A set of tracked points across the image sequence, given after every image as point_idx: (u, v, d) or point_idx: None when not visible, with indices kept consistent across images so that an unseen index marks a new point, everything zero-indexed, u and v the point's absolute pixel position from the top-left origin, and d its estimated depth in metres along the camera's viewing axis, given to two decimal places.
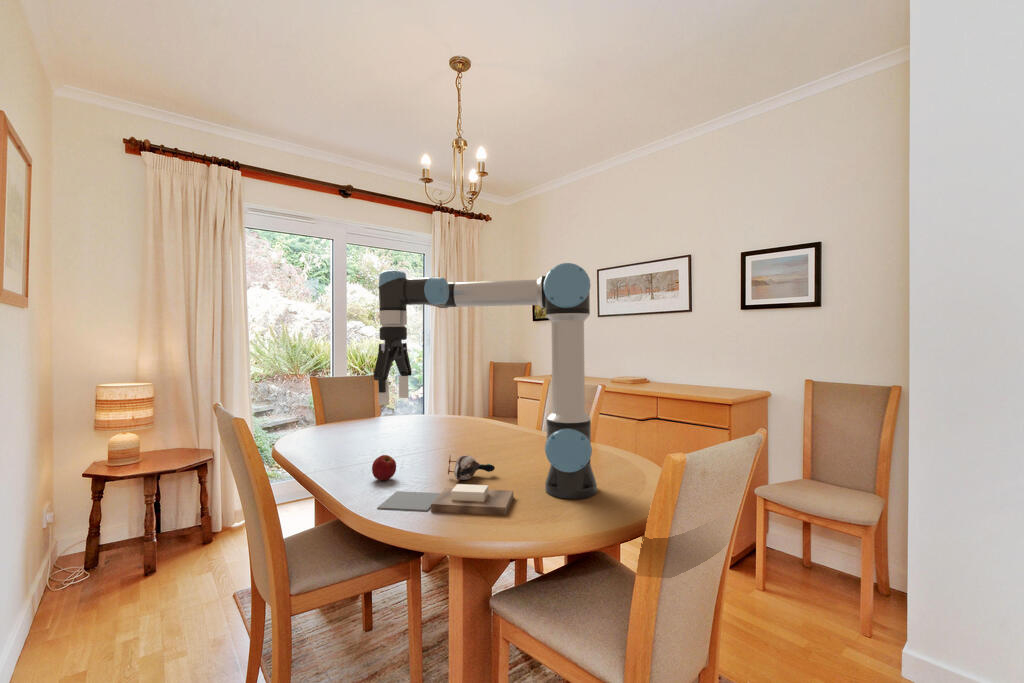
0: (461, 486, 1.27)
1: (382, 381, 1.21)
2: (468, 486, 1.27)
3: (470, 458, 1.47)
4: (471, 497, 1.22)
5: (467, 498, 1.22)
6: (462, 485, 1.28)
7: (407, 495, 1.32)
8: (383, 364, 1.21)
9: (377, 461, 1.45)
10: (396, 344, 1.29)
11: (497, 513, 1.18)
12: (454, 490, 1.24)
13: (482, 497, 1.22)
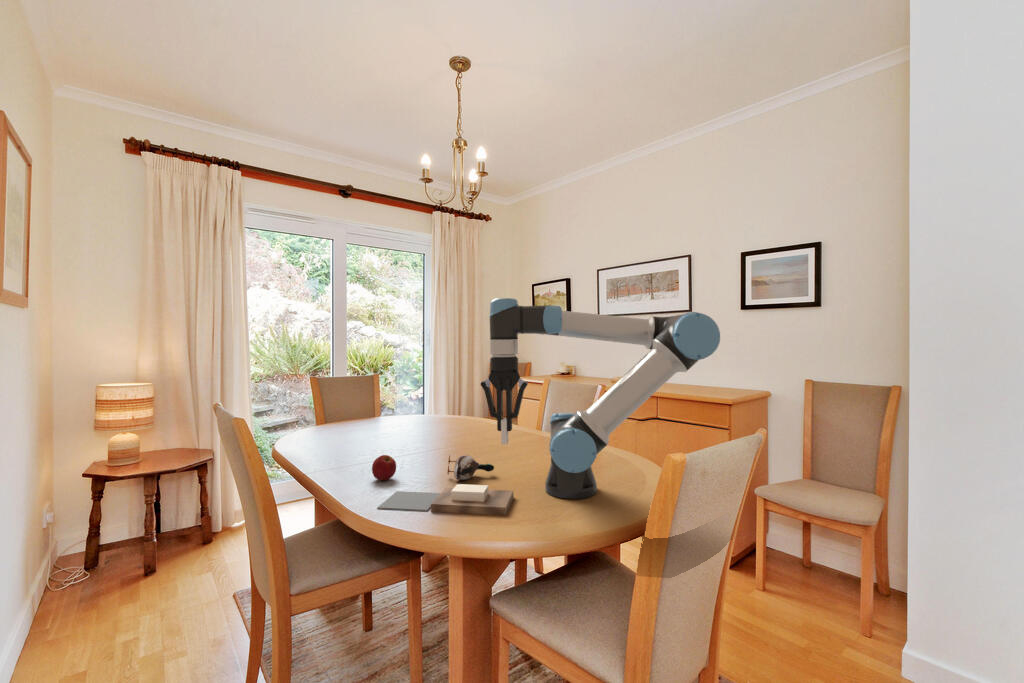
0: (461, 486, 1.27)
1: (497, 419, 1.24)
2: (468, 486, 1.27)
3: (469, 458, 1.47)
4: (471, 497, 1.22)
5: (467, 498, 1.22)
6: (462, 485, 1.28)
7: (407, 495, 1.32)
8: (487, 403, 1.23)
9: (377, 461, 1.45)
10: (501, 375, 1.23)
11: (497, 513, 1.18)
12: (454, 490, 1.24)
13: (482, 497, 1.22)
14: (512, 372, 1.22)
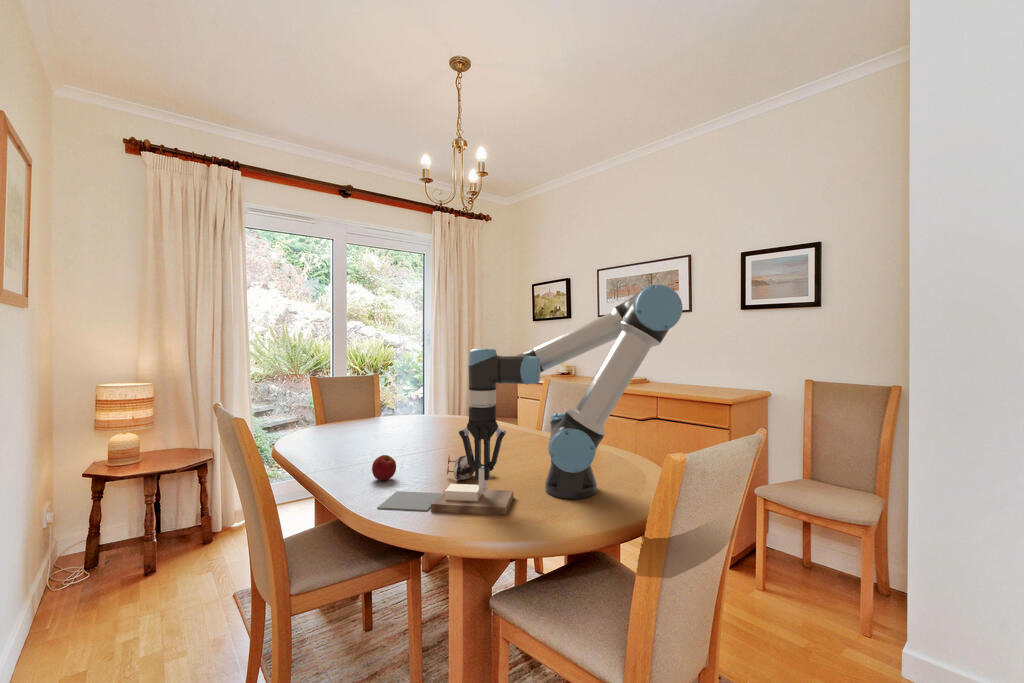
0: (455, 486, 1.27)
1: None
2: (462, 486, 1.27)
3: None
4: (465, 497, 1.23)
5: (461, 498, 1.23)
6: (456, 485, 1.28)
7: (407, 495, 1.32)
8: None
9: (377, 461, 1.45)
10: (479, 424, 1.24)
11: (497, 513, 1.18)
12: (448, 490, 1.24)
13: (476, 497, 1.22)
14: (490, 422, 1.23)
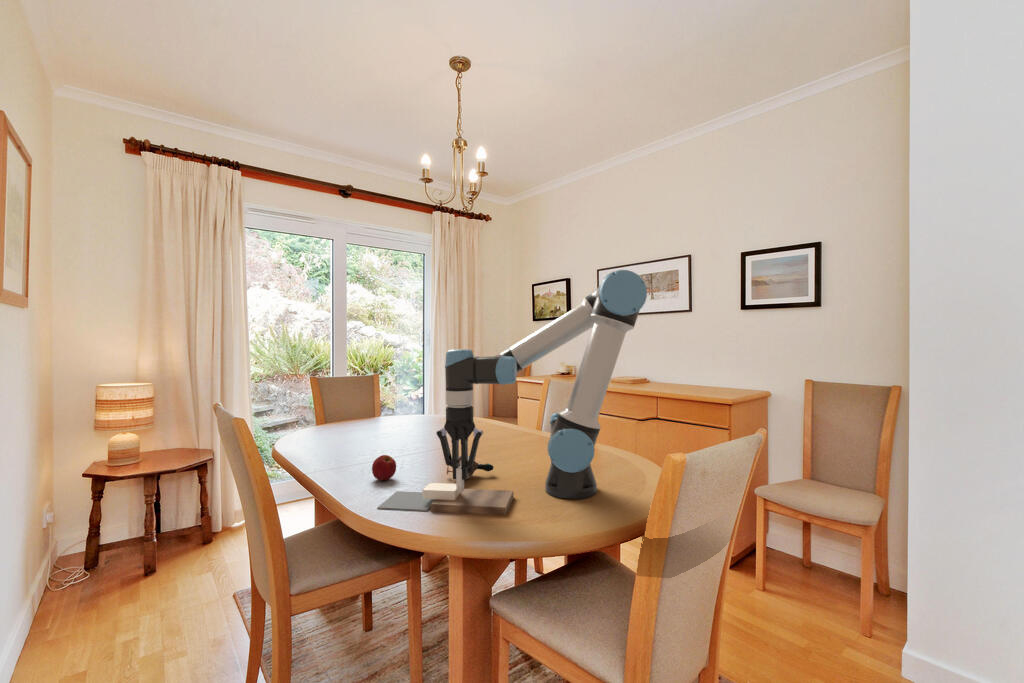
0: (433, 485, 1.28)
1: None
2: (440, 485, 1.28)
3: None
4: (443, 496, 1.24)
5: (438, 497, 1.24)
6: (435, 484, 1.29)
7: (407, 495, 1.32)
8: None
9: (377, 461, 1.45)
10: (457, 425, 1.25)
11: (497, 513, 1.18)
12: (426, 489, 1.25)
13: (453, 496, 1.23)
14: (467, 422, 1.24)
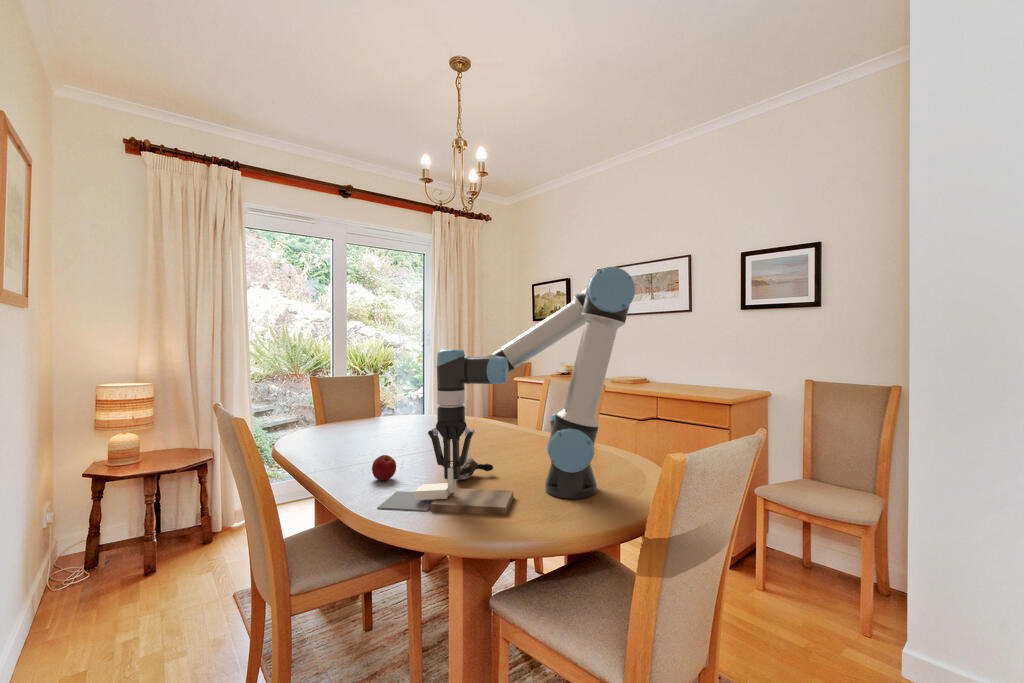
0: (425, 486, 1.29)
1: None
2: (432, 485, 1.29)
3: (469, 458, 1.47)
4: (434, 496, 1.24)
5: (430, 497, 1.24)
6: (426, 485, 1.29)
7: (407, 495, 1.32)
8: None
9: (377, 461, 1.45)
10: (448, 424, 1.25)
11: (497, 513, 1.18)
12: (417, 490, 1.25)
13: (444, 494, 1.24)
14: (458, 422, 1.25)
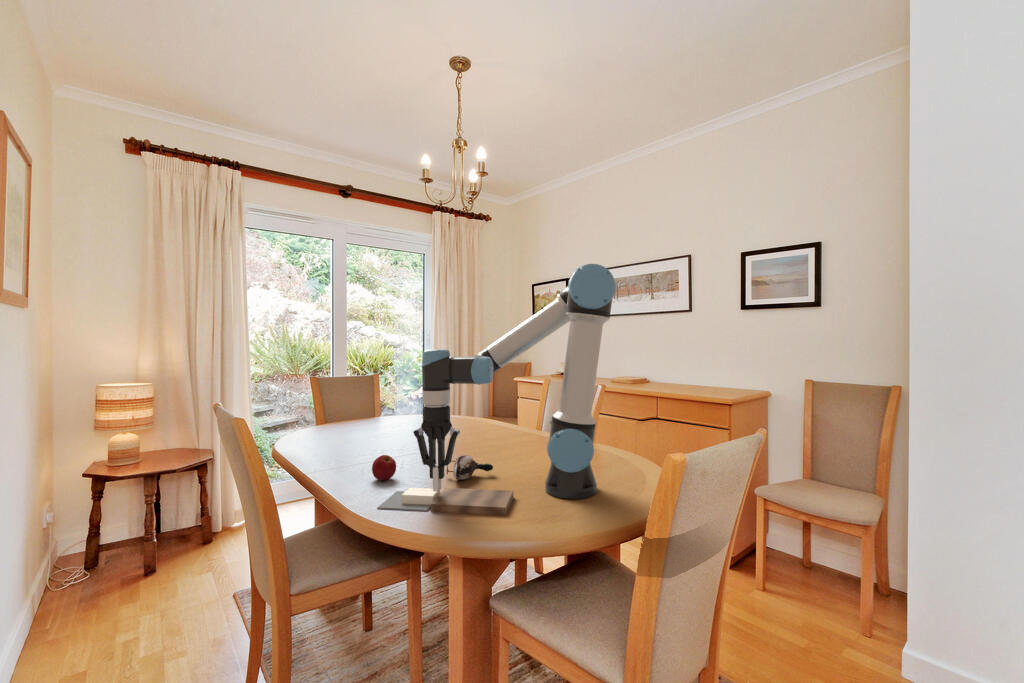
0: (413, 490, 1.29)
1: None
2: (420, 490, 1.29)
3: (469, 458, 1.47)
4: (421, 501, 1.25)
5: (417, 502, 1.25)
6: (414, 489, 1.30)
7: None
8: None
9: (377, 461, 1.45)
10: (433, 424, 1.26)
11: (497, 513, 1.18)
12: (405, 494, 1.26)
13: (431, 501, 1.24)
14: (443, 421, 1.25)
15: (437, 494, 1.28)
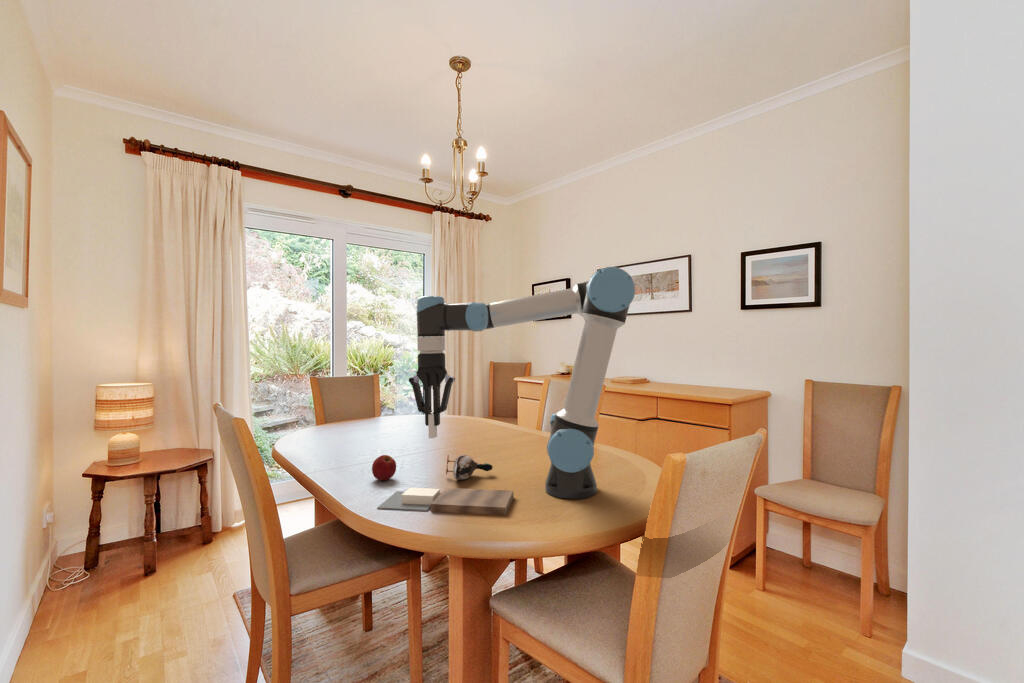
0: (413, 490, 1.29)
1: None
2: (420, 490, 1.29)
3: (468, 458, 1.47)
4: (421, 501, 1.25)
5: (417, 502, 1.25)
6: (414, 489, 1.30)
7: None
8: None
9: (377, 461, 1.45)
10: (428, 371, 1.26)
11: (497, 513, 1.18)
12: (405, 494, 1.26)
13: (431, 501, 1.24)
14: (438, 368, 1.25)
15: (437, 494, 1.28)
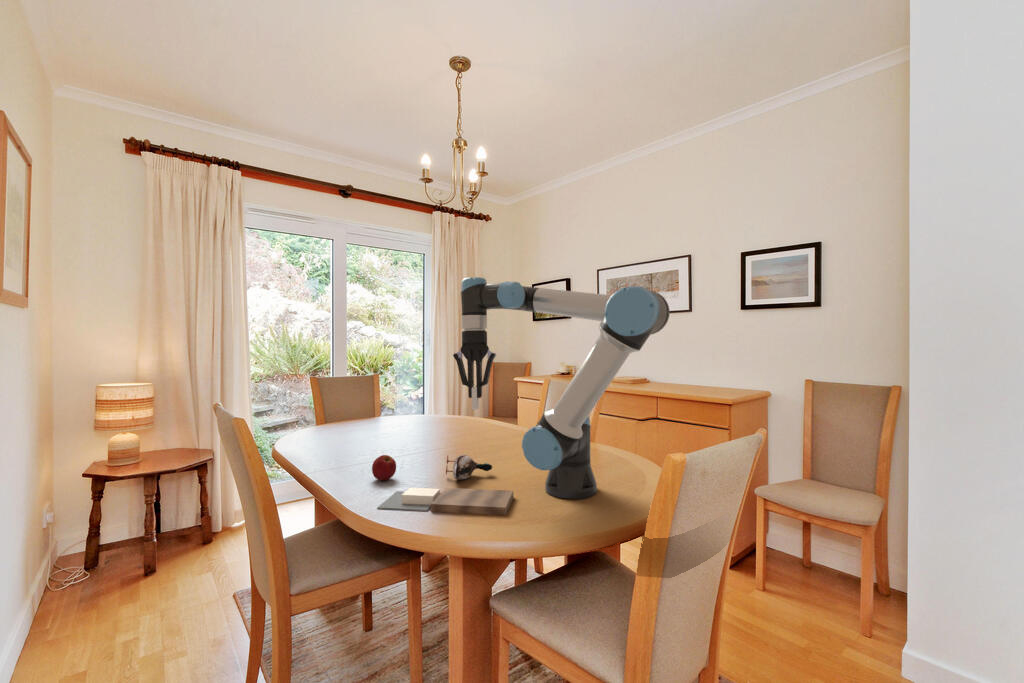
0: (413, 490, 1.29)
1: None
2: (420, 490, 1.29)
3: (468, 457, 1.48)
4: (421, 501, 1.25)
5: (417, 502, 1.25)
6: (414, 489, 1.30)
7: None
8: None
9: (377, 461, 1.45)
10: (472, 347, 1.36)
11: (497, 513, 1.18)
12: (405, 494, 1.26)
13: (431, 501, 1.24)
14: (481, 344, 1.35)
15: (437, 494, 1.28)
